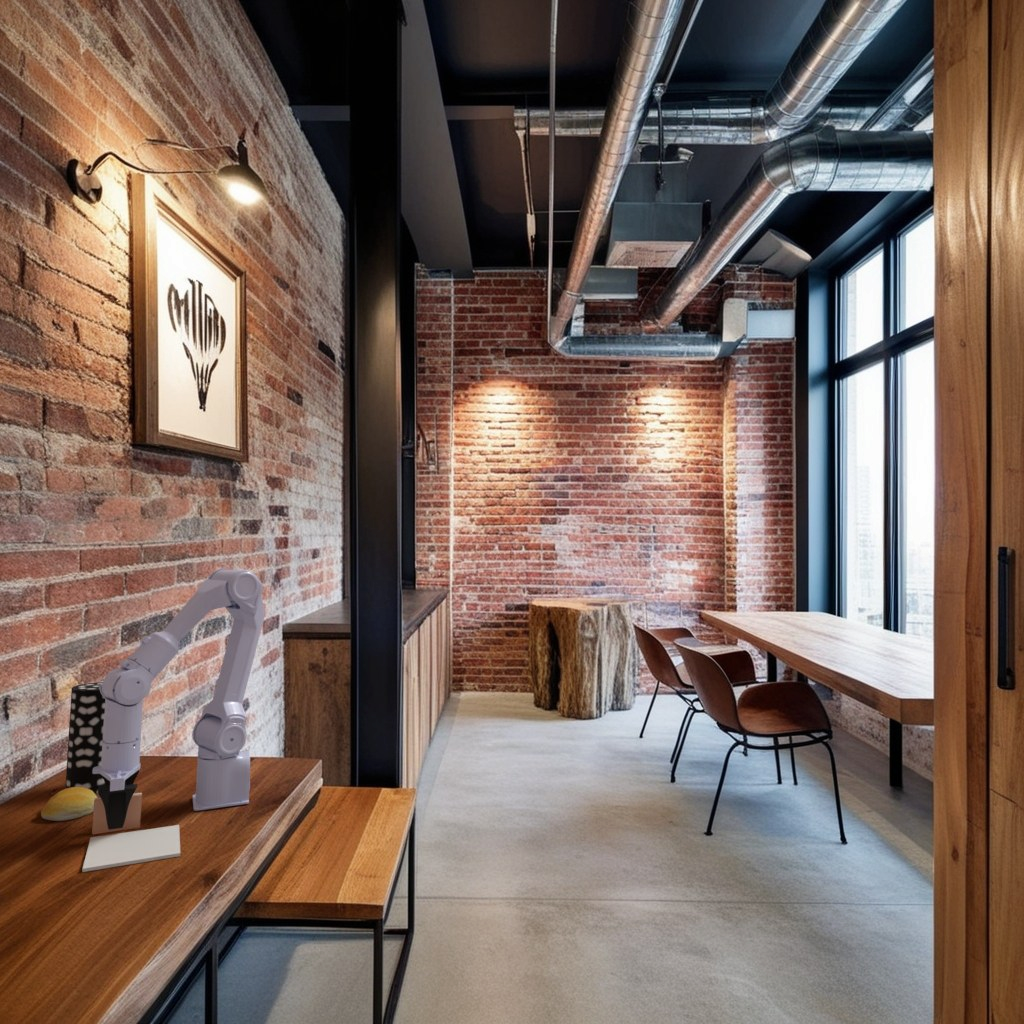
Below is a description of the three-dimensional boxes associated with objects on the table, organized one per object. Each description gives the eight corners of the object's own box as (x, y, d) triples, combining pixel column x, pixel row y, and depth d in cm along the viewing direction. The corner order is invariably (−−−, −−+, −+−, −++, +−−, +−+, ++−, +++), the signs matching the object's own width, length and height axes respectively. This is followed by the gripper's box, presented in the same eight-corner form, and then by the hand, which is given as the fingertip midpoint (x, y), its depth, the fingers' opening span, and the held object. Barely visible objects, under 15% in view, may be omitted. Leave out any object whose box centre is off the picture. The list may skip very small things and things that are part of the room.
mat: (179, 827, 116) (179, 824, 116) (180, 856, 105) (180, 852, 105) (90, 840, 110) (90, 837, 110) (82, 872, 100) (82, 868, 100)
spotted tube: (122, 786, 135) (128, 685, 137) (77, 798, 128) (84, 692, 130) (101, 778, 140) (107, 680, 141) (56, 789, 133) (63, 686, 134)
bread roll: (35, 825, 116) (37, 801, 116) (51, 806, 125) (52, 784, 125) (91, 820, 119) (92, 796, 119) (102, 802, 127) (103, 780, 128)
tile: (140, 825, 117) (142, 792, 117) (139, 827, 116) (141, 795, 116) (92, 831, 114) (94, 798, 114) (92, 834, 113) (94, 801, 113)
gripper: (98, 731, 120) (93, 809, 120) (90, 753, 108) (84, 841, 107) (143, 727, 124) (139, 803, 123) (140, 748, 111) (135, 833, 110)
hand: (117, 820), depth 115 cm, fingers open, 6 cm apart
